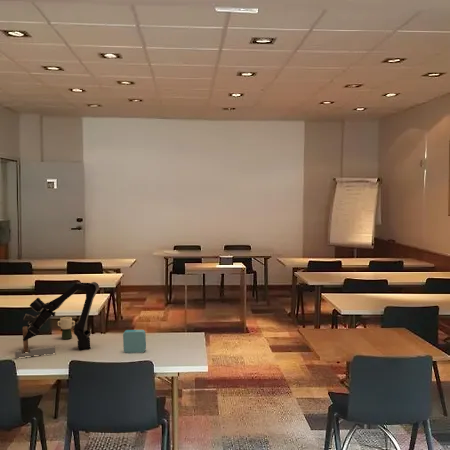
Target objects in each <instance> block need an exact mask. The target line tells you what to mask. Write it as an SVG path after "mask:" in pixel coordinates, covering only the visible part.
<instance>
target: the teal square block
mask: <svg viewBox="0 0 450 450" xmlns="http://www.w3.org/2000/svg"><path fill="white" fill-rule="evenodd" d="M122 339H123V340H122V341H123V344H122V347H123V353H125V354H131V353H132V354H133V353H134V354H136V353H137V354H138V353H144V352H145V351H146V349H147V337H146V331H145V330H144V329H126V330H124V332H123V333H122Z"/></svg>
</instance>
